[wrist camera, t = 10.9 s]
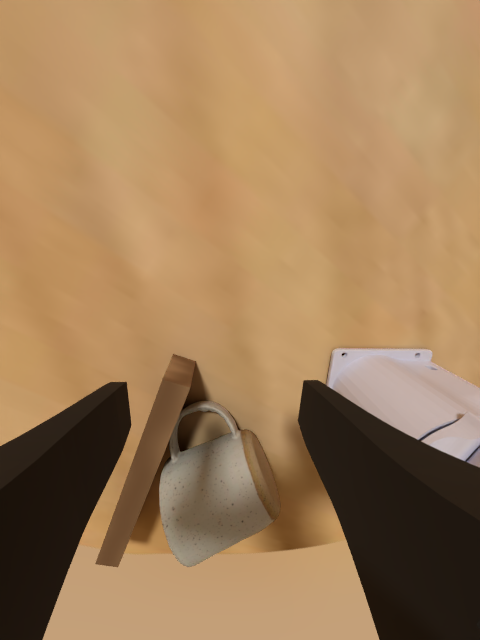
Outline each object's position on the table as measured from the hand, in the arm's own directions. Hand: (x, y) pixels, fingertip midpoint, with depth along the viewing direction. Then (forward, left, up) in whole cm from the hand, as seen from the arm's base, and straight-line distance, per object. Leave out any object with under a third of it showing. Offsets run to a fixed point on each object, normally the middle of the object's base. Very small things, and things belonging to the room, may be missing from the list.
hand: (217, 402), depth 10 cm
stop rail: (+6, +13, -10) cm, 17 cm away
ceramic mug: (0, +13, -11) cm, 16 cm away
